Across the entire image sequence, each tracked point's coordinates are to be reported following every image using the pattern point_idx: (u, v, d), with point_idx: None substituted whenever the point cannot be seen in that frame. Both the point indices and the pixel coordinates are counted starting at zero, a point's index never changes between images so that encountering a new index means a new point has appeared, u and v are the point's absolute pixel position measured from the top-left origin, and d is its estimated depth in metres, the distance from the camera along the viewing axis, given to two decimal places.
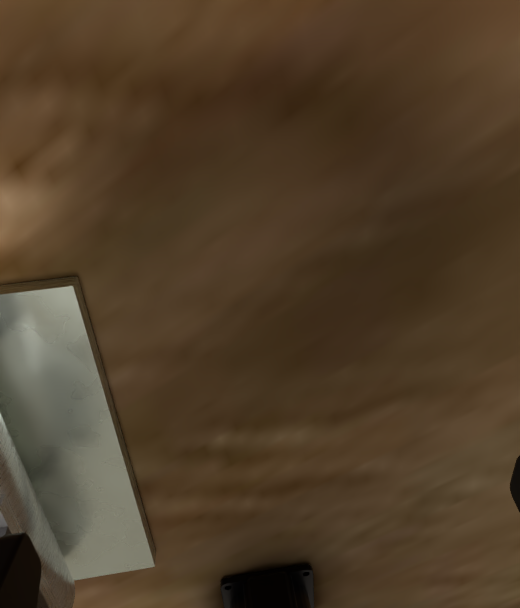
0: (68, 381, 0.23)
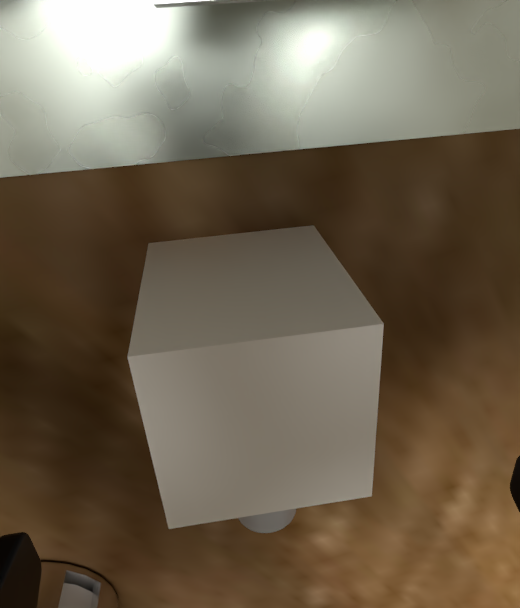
0: None
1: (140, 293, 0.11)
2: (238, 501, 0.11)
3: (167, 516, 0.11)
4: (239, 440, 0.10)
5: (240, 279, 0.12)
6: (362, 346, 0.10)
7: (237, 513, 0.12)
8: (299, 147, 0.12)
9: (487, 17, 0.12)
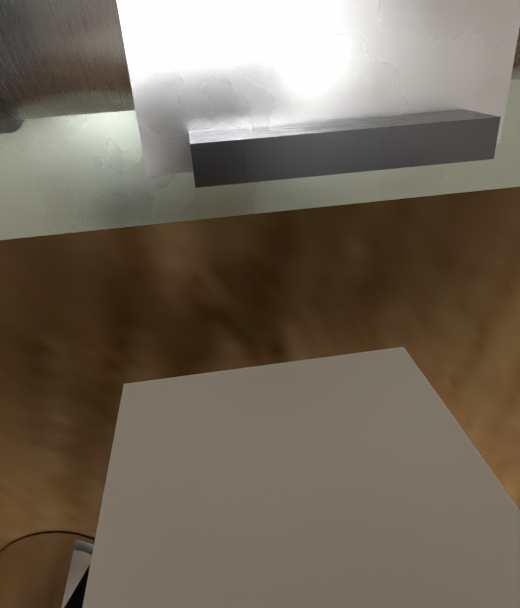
0: None
1: (92, 570, 0.05)
2: None
3: None
4: None
5: (301, 528, 0.06)
6: None
7: None
8: (253, 212, 0.17)
9: None
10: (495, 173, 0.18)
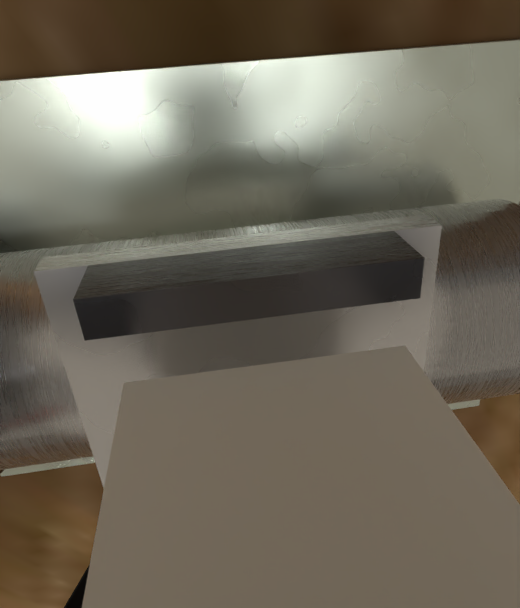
0: (37, 135, 0.13)
1: (91, 570, 0.05)
2: None
3: None
4: None
5: (303, 527, 0.06)
6: None
7: None
8: None
9: None
10: None
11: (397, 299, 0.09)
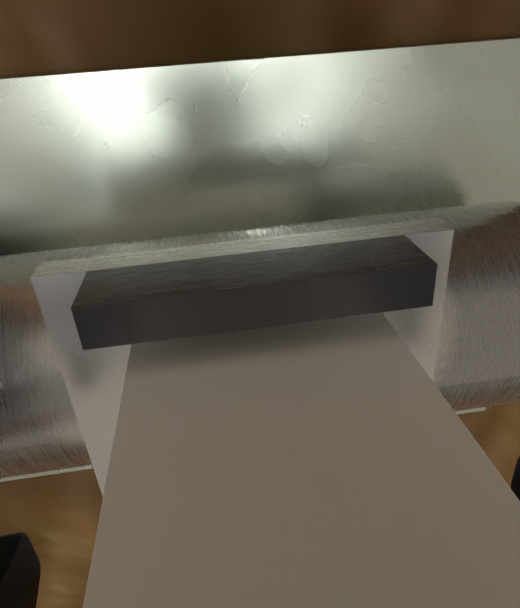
0: (36, 135, 0.13)
1: (111, 466, 0.07)
2: None
3: None
4: None
5: (281, 435, 0.07)
6: None
7: None
8: None
9: None
10: None
11: (408, 307, 0.08)
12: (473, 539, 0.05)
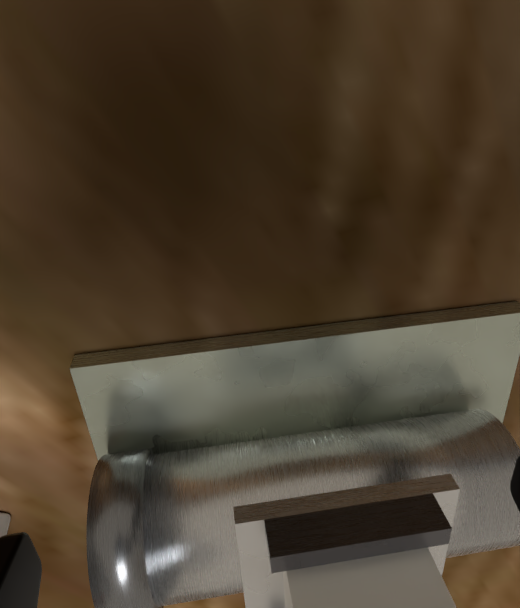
0: (194, 381, 0.21)
1: None
2: None
3: None
4: None
5: None
6: None
7: None
8: None
9: None
10: None
11: (436, 545, 0.16)
12: None
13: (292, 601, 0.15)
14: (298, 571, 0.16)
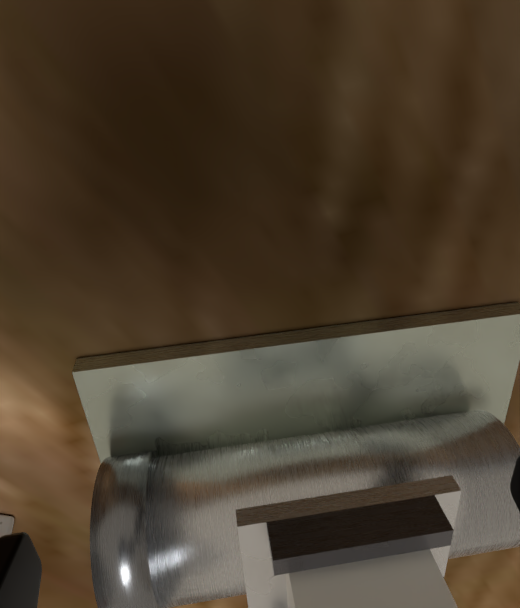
0: (196, 383, 0.21)
1: None
2: None
3: None
4: None
5: None
6: None
7: None
8: None
9: None
10: None
11: (438, 547, 0.16)
12: None
13: (295, 603, 0.16)
14: (300, 573, 0.16)
